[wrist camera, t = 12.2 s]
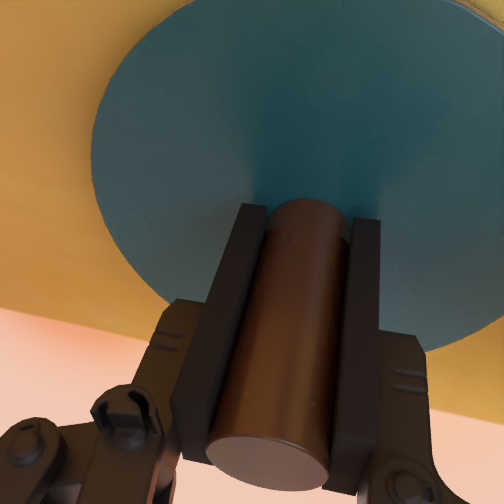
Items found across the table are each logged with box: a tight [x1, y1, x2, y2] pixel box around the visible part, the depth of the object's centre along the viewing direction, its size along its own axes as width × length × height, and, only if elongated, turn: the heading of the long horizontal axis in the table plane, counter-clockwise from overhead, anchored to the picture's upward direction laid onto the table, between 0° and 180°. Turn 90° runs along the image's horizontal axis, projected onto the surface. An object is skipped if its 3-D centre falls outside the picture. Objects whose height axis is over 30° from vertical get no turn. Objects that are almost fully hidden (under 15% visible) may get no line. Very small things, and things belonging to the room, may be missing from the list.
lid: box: [91, 0, 504, 491], centre depth 13 cm, size 15×15×9 cm
